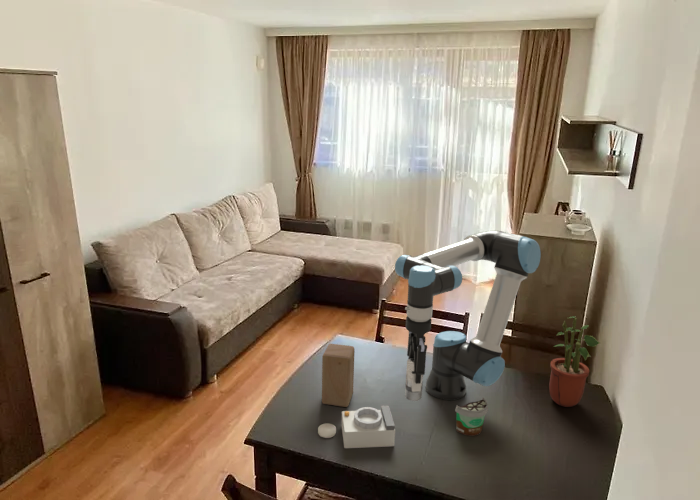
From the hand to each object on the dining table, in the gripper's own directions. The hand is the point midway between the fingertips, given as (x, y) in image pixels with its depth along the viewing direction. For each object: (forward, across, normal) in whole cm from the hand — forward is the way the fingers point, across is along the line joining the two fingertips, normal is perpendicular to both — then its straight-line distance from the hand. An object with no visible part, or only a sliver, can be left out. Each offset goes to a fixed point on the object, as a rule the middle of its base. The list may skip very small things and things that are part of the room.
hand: (414, 385), depth 156 cm
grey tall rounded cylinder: (+4, 0, 0) cm, 4 cm away
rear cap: (+21, -7, -26) cm, 35 cm away
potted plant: (+21, -20, +64) cm, 70 cm away
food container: (+21, -4, +22) cm, 31 cm away
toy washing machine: (+21, -4, -14) cm, 25 cm away
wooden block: (+21, -26, -21) cm, 40 cm away
